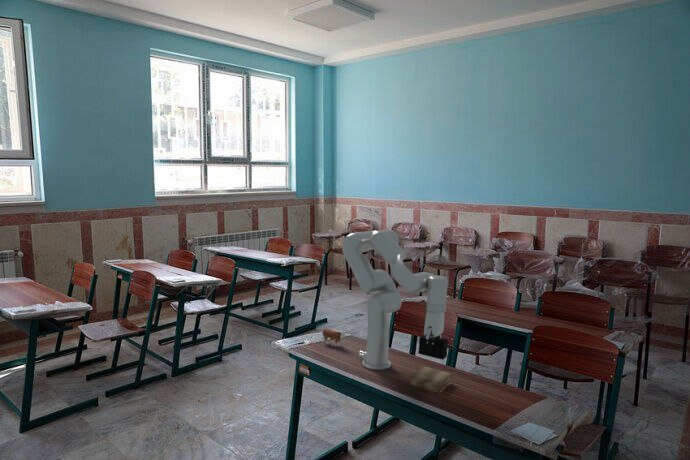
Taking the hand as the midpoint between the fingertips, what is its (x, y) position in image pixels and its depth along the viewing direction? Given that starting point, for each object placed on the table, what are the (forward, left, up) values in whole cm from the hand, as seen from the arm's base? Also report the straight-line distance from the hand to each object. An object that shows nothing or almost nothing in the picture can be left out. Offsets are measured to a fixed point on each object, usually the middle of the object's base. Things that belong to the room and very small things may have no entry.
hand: (433, 351), depth 195 cm
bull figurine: (-55, +13, -14) cm, 58 cm away
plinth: (0, 0, -14) cm, 14 cm away
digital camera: (0, 0, -2) cm, 2 cm away
